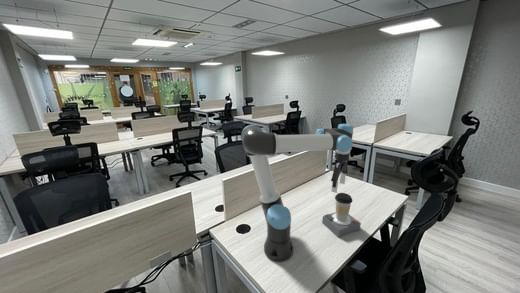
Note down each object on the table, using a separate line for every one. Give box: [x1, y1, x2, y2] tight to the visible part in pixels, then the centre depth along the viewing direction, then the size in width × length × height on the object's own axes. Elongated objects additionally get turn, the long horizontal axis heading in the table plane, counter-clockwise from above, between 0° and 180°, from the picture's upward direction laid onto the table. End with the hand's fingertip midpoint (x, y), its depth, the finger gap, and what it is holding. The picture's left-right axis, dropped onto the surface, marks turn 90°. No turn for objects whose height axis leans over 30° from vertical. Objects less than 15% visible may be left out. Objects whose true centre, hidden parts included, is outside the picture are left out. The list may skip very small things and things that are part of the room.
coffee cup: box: [334, 192, 353, 222], centre depth 120 cm, size 9×9×15 cm
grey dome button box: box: [321, 211, 362, 238], centre depth 122 cm, size 16×14×6 cm
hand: (338, 187), depth 117 cm, fingers open, 13 cm apart
